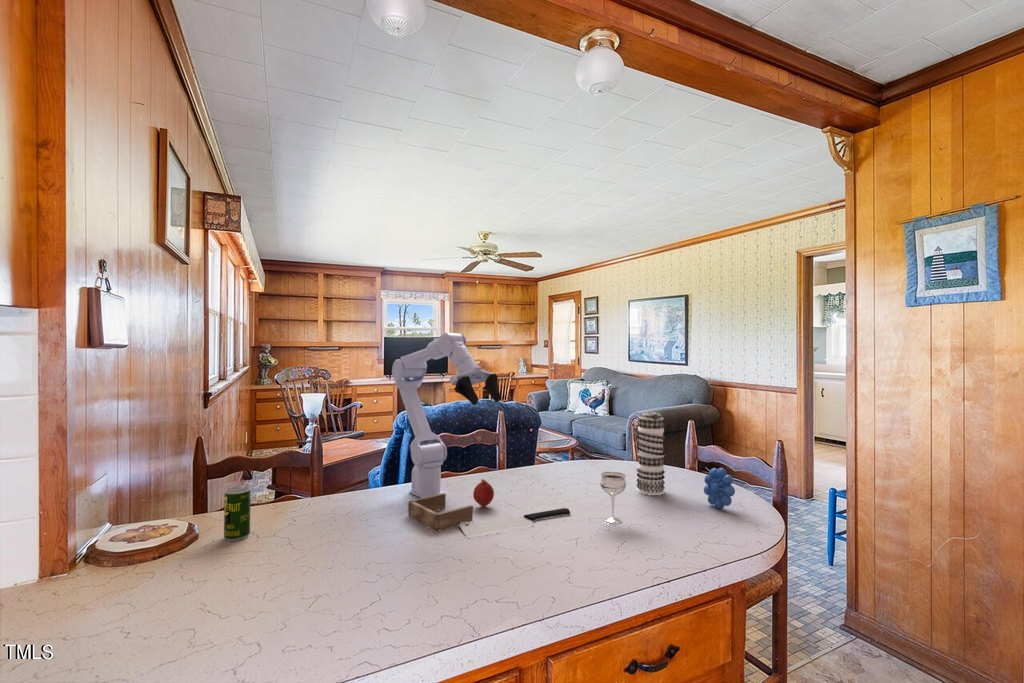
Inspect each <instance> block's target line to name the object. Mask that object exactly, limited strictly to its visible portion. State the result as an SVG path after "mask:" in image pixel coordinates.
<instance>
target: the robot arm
mask: <svg viewBox="0 0 1024 683" xmlns="http://www.w3.org/2000/svg"><path fill="white" fill-rule="evenodd" d="M466 343H467V340H466V337H465V335H464V334H462V333H460V332H457V333H456V332H444V333H443V334H440V336H439V337H434V338H433V340H432V341H431V342H429V343H428V344H427V346H426V348H424V349H420V350H417V351H414V352H411V353H409V354H406V355H402V356H400V359H399V358H397V359H395V360H394V362H393V364H392V369H391V375H392V378H393V381H394V383H395V387H396V388H397V389H398V390H399V394H400V396H401V400H402V402H403V406H404V408H405V411H406V414H407V417H408V421H409V423H410V426H411V429H412V431H413V435H414V438H413V440H412V441H411V443H410V445H409V449H410V456H411V461H412V463H413V464H414V465H413V467H412V470H411V489H410V490H408V493H410V494H413V495H414V496H416V497H418V498H419V499H420V498H425V497H429V496H433V495H438V494H442V493H444V494H445V495H447V492H446V491H443V490H441V489H442V488H441V487H442V486H441V481H442V480H441V476H442V475H441V474H442V473H441V472H442V471H441V470H442V469H441V468H442V465H444V462H445V461H446V459H447V456H448V451H447V450H448V449H447V447H446V444H445V443H444V442H443V440H442V439H441V436H440V435H438V434H436V433H435V432H432V429H431V428H430V423H429V421H428V419H427V416H426V412H425V410H424V407H423V404H422V401H421V399H420V397H419V393H418V389H419V388H420V387H422V384H423V381H424V379H425V375H426V373H427V368H428V364H427V361H429V360H439V359H442V358H445V357H448V358H449V360H450V362H451V363H452V365H453V366H454V368H455V369H456V371H457V372H456V373H457V374H453V375H451V376H450V378H449V383H450V384H451V386H454V388H453V390H454V392H455V393H456V394H460V395H461V396H463V397H464V398H465V399H467V401H468V402H470V403H471V404H472V405H473V406H476V405H477V403H478V402H479V397H478V395H477V392H476V391H475V390H474V387H473V385H474V386H475V385H478V384H479V383H483V382H484V387H483V390H484V391H485V392H486V393H488V394H489V396H490V397H491V398H492V400H493V401H494V402H495V403H499V402H500V400H501V398H502V395H501V393H500V389H499V382H498V381H499V376H498V375H497V373H495V372H491V371H488V370H484V369H482V366H481V365H478V364H477V362H476V361H475V359H474V357H473V356H472V355H471V352H470V351H469V349H468V347H467V344H466Z"/></svg>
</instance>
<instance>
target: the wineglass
mask: <svg viewBox="0 0 1024 683" xmlns="http://www.w3.org/2000/svg"><path fill="white" fill-rule="evenodd" d="M599 475H600V477H601V478H600V479H599V482H600V487H601V489H602V490H603V492H604V493H606V494H608V495H609V496H610V497H611V498H610V499H611V516H608V518H607V517H604V518H605V521H607V522H610V523H616V522H617V523H618V522H620V521H621V520H622V519H621V518H619V517H614V516H615V515H614V514H615V512H614V511H615V509H614V508H615V497H617V496H618V495H620V494H621V493H623V492H624V491H625V490H626V486H627V481H626V479H625V478H626V477H627V475H626V474H624V473H622V472H618V471H603V472H601V473H600V474H599ZM618 518H619V519H618ZM620 519H621V520H620Z"/></svg>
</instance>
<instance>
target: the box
mask: <svg viewBox="0 0 1024 683" xmlns="http://www.w3.org/2000/svg"><path fill="white" fill-rule="evenodd" d="M473 506H474V505H472V504H469V505H466V506H465V505H464V506H462V507H459V508H454V509H450V510H446V511H441V512H439V513H438V512H437V511H439V510H438V509H440V510H443V508H444V509H446V494H444V493H442V494H438V495H433V496H429V497H425V498H420V497H419V498H418V499H413V500H412V499H411V500H409V501H408V515H407V516H408V517H409V518H411V519H413V520H415V521H416V522H417V523H420V524H421V523H422V524H421V525H424V526H425V527H427V528H428V527H429V529H430V528H431V529H430V530H432V529H433V530H432V531H434V530H435V531H434V532H436V531H437V532H440V531H439V530H441V531H444V530H447V528H448V529H451V528H454V526H455V527H458V526H460V523H461V522H471V521H472V522H473V516H474V515H473V512H474V510H473V508H474V507H473ZM435 510H436V511H435ZM457 525H458V526H457ZM450 527H451V528H450ZM443 529H444V530H443Z"/></svg>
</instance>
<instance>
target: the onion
mask: <svg viewBox="0 0 1024 683" xmlns="http://www.w3.org/2000/svg"><path fill="white" fill-rule="evenodd" d="M472 494H473V499H474V501H475V502H476V503H477V504H478V505H479V506H480V507H481V508H485V507H487V506H489V505H490V504H491V502H492V501H493V499H494V497H495V491H494V488H493V487H492V485H491V484H490V483H489V482H487V481H486V479H484V478H482V479H481V480H480V482H479V483H478V484H477V485H476V486H475V487H474V489H473V493H472Z"/></svg>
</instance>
